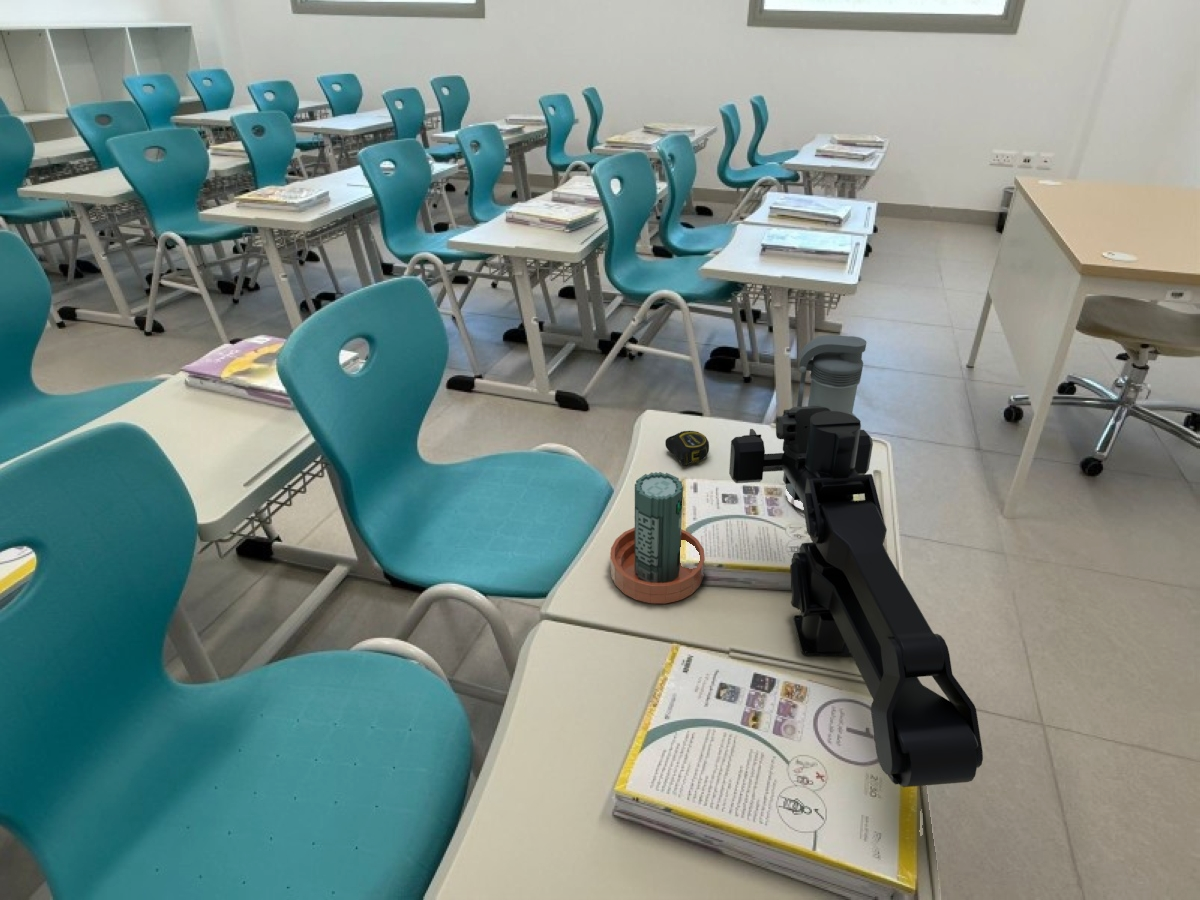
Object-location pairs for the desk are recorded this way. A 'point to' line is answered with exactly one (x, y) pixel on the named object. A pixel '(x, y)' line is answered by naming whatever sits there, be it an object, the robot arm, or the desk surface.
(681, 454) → the tape measure
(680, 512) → the can
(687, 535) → the bowl
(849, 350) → the water bottle
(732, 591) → the desk surface
